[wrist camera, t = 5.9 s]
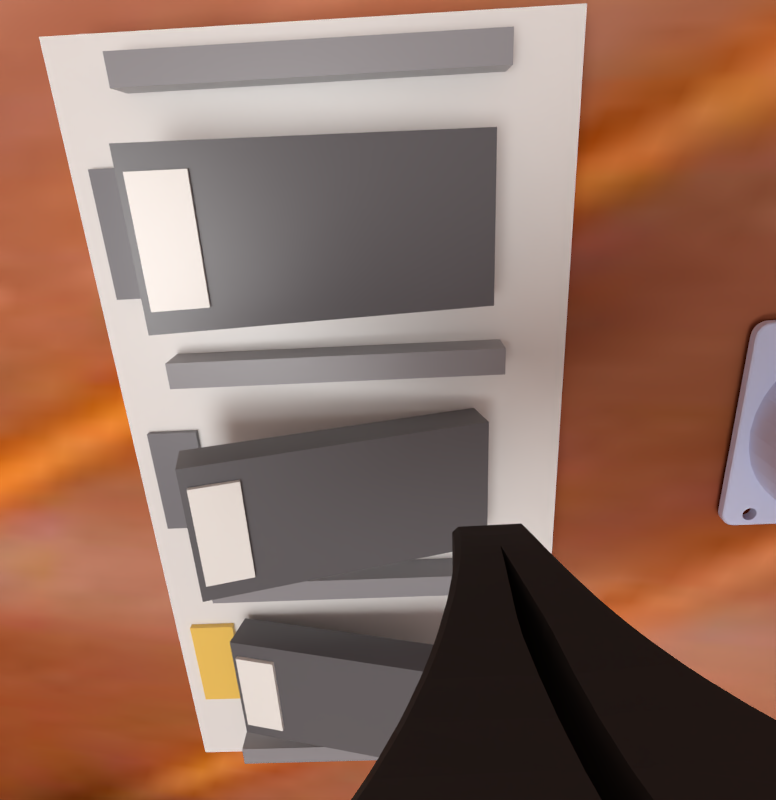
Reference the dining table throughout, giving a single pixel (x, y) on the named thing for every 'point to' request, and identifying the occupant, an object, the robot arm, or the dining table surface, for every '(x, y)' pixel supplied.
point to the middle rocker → (332, 499)
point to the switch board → (340, 338)
